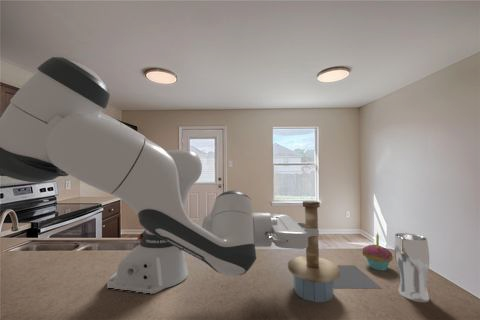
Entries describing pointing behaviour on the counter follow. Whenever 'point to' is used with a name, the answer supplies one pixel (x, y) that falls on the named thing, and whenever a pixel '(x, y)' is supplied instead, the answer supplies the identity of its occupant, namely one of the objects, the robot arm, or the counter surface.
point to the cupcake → (377, 255)
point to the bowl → (313, 289)
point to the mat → (353, 279)
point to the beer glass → (412, 265)
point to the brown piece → (313, 253)
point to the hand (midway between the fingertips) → (314, 229)
